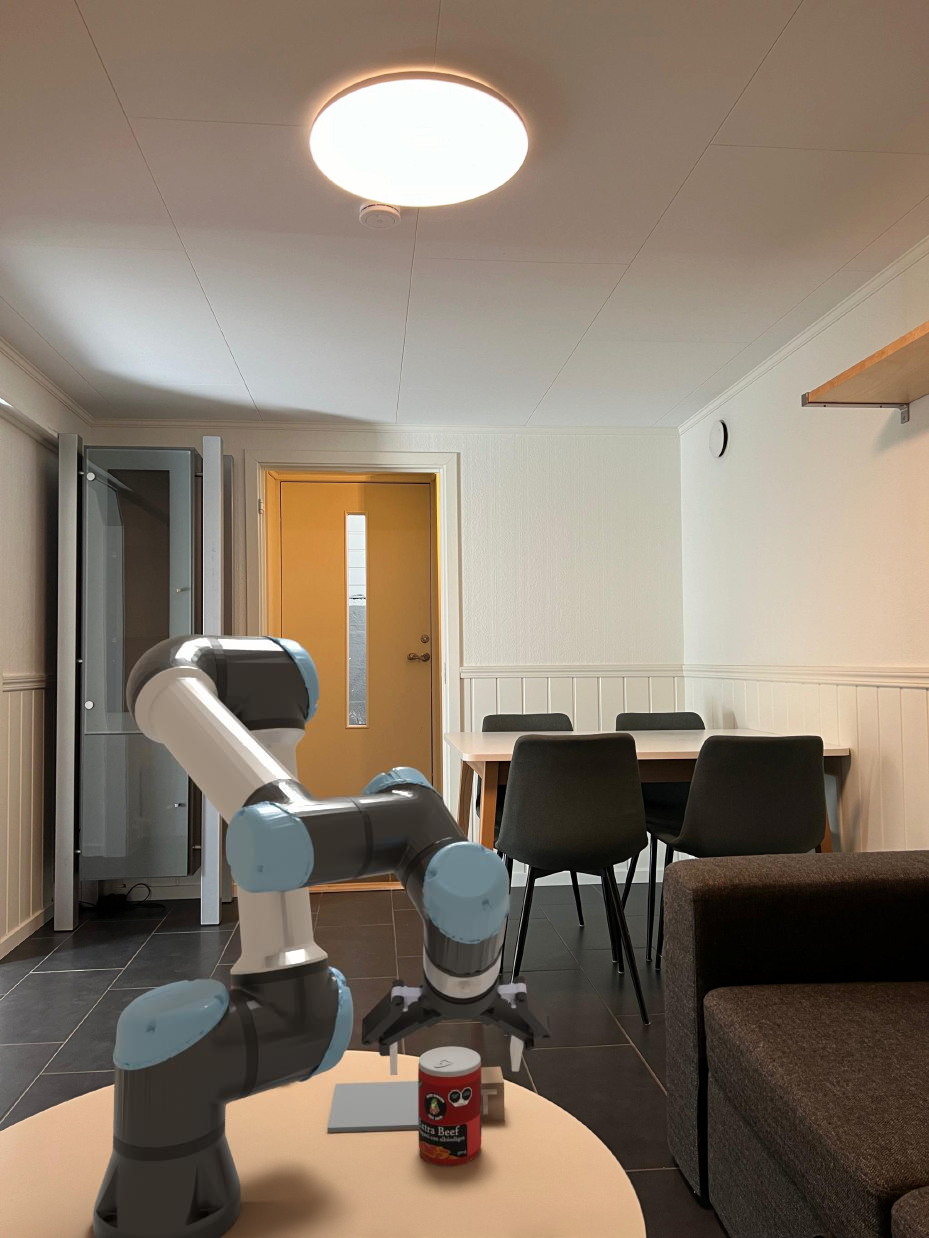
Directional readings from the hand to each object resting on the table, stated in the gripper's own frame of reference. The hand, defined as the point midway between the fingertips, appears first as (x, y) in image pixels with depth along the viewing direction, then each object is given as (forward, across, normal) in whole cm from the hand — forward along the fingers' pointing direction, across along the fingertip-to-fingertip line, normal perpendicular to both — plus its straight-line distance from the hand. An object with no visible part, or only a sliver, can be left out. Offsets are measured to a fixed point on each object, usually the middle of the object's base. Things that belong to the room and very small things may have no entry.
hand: (454, 1061), depth 101 cm
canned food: (+18, 0, -3) cm, 18 cm away
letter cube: (+25, +5, +4) cm, 26 cm away
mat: (+26, -9, +6) cm, 29 cm away
